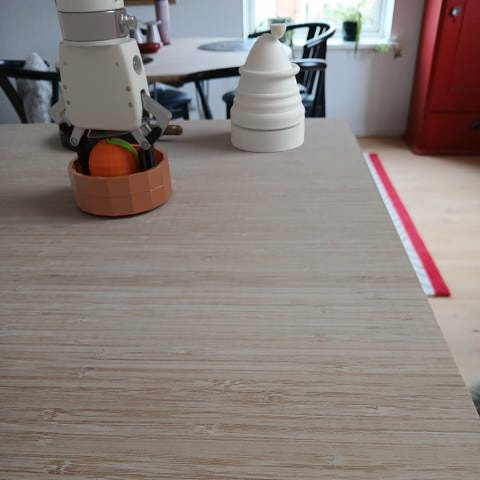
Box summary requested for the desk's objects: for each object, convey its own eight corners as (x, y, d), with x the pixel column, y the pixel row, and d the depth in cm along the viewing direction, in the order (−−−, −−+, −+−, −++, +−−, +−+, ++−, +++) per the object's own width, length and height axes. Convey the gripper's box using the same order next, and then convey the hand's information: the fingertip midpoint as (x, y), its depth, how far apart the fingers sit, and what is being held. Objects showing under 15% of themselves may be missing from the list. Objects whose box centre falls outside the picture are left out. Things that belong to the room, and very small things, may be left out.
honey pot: (316, 135, 92) (323, 20, 81) (280, 157, 84) (282, 31, 73) (255, 126, 98) (254, 17, 87) (216, 145, 90) (209, 27, 79)
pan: (45, 150, 91) (41, 134, 89) (87, 123, 103) (84, 109, 102) (168, 155, 86) (166, 139, 84) (196, 127, 99) (195, 112, 97)
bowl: (59, 215, 68) (49, 175, 65) (102, 178, 79) (95, 142, 75) (152, 222, 66) (146, 181, 62) (184, 183, 76) (180, 146, 73)
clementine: (160, 185, 73) (153, 134, 68) (131, 204, 68) (122, 150, 63) (114, 177, 76) (105, 127, 71) (83, 194, 71) (72, 142, 66)
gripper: (175, 23, 61) (188, 167, 71) (44, 22, 64) (74, 160, 75) (152, 33, 55) (170, 188, 66) (9, 31, 58) (47, 180, 69)
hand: (119, 173), depth 70 cm, fingers closed on clementine, 8 cm apart
